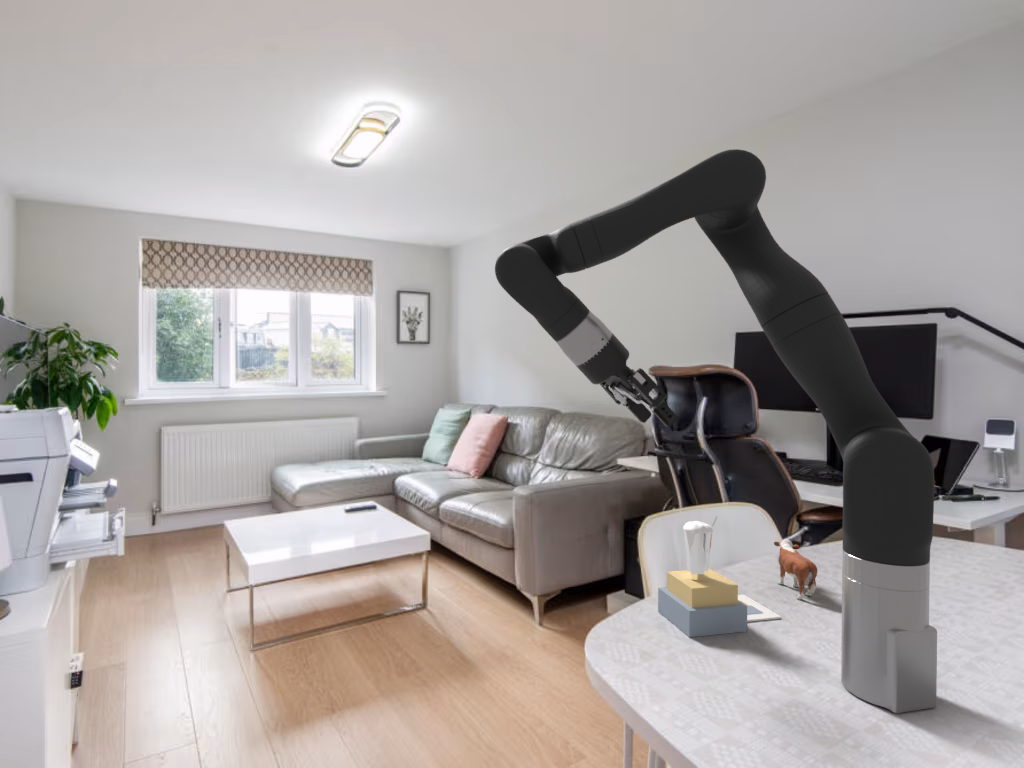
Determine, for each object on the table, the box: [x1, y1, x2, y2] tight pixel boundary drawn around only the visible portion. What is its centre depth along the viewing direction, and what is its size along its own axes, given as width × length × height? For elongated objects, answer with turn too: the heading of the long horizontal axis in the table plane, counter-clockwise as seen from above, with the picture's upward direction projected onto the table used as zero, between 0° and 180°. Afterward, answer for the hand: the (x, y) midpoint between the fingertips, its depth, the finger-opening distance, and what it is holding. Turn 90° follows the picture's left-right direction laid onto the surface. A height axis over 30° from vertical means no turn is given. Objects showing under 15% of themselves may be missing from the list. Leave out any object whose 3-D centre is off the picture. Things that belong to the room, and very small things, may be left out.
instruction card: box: [738, 594, 782, 623], centre depth 98 cm, size 10×7×1 cm
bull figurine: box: [773, 538, 818, 601], centre depth 108 cm, size 4×13×8 cm, turn 174°
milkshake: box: [682, 516, 718, 581], centre depth 93 cm, size 5×5×10 cm
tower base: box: [657, 567, 748, 638], centre depth 93 cm, size 10×10×7 cm
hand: (659, 420), depth 91 cm, fingers open, 8 cm apart
